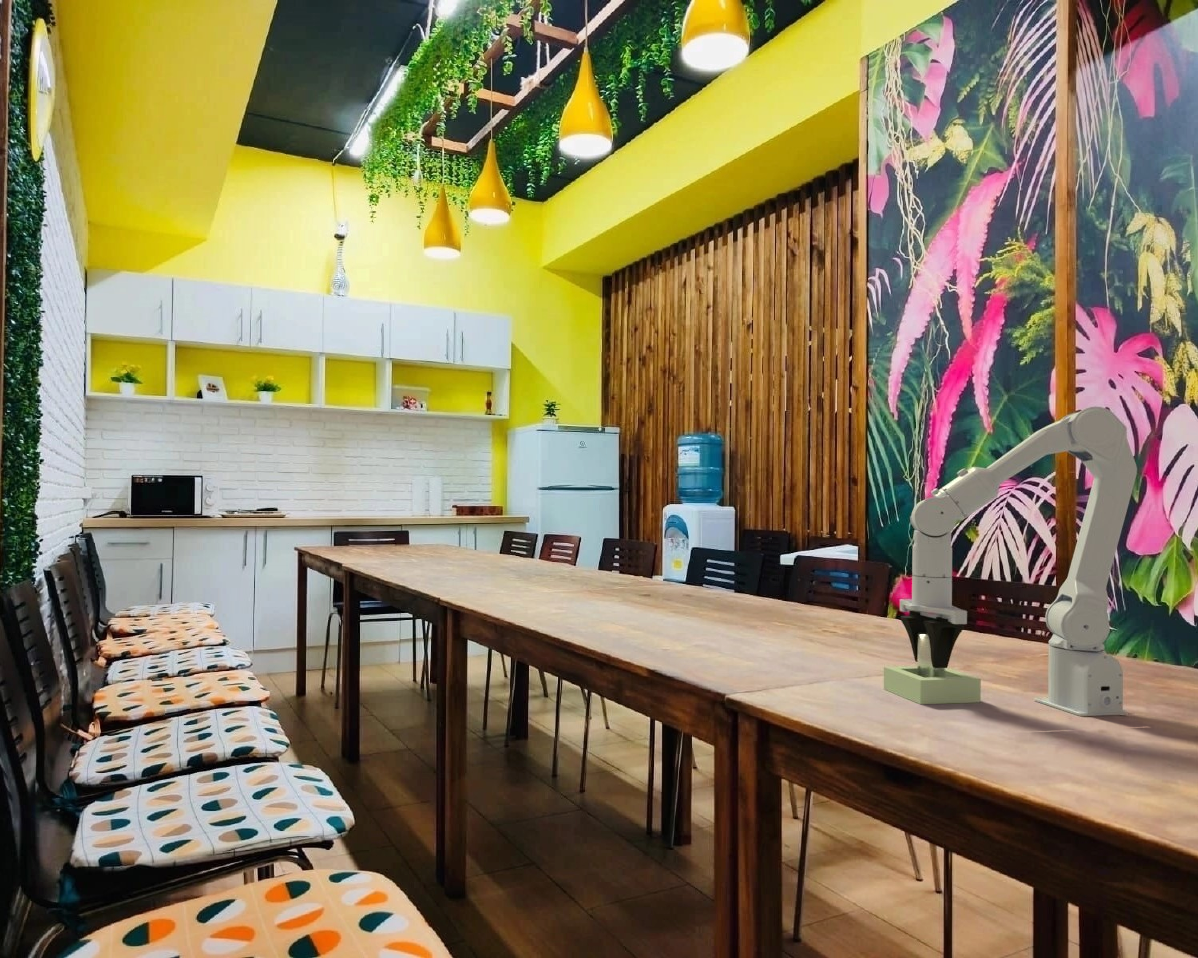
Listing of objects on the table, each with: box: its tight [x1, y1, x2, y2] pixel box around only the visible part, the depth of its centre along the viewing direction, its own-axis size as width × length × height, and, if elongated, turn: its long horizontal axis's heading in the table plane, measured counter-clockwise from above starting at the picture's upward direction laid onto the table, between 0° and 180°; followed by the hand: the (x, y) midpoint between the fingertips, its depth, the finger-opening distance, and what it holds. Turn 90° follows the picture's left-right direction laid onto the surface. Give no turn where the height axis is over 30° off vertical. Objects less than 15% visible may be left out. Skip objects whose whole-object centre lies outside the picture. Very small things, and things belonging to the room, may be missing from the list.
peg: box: [916, 632, 945, 678], centre depth 130 cm, size 4×4×8 cm
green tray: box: [883, 665, 982, 705], centre depth 130 cm, size 10×10×4 cm
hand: (930, 664), depth 130 cm, fingers open, 4 cm apart
